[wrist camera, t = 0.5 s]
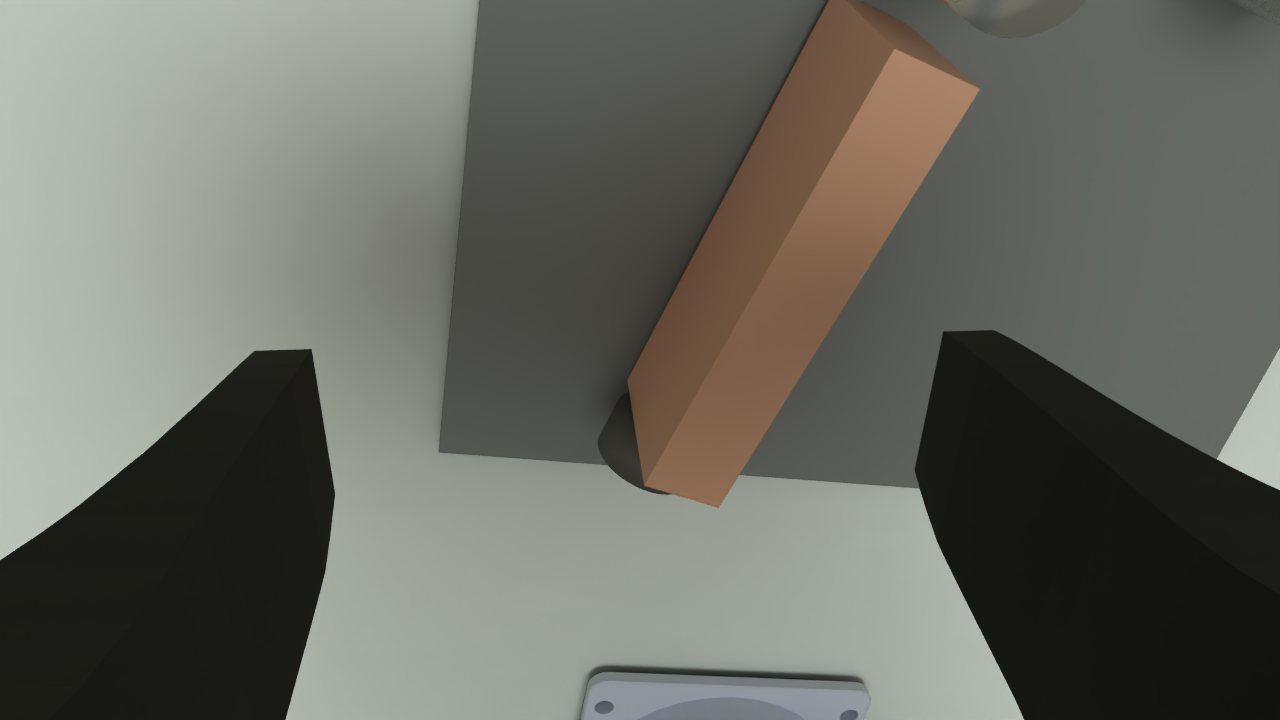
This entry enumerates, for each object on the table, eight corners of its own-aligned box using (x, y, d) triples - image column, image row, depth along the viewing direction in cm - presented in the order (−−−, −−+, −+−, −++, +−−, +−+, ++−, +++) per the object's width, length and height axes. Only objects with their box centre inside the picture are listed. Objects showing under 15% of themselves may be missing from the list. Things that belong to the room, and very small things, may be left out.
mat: (1181, 500, 28) (1188, 508, 27) (439, 444, 24) (438, 452, 24) (1563, -178, 19) (1577, -176, 19) (515, -403, 16) (516, -404, 16)
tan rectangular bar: (820, -18, 19) (878, 40, 16) (922, 31, 20) (995, 96, 17) (594, 414, 24) (605, 523, 21) (683, 442, 24) (707, 551, 21)
